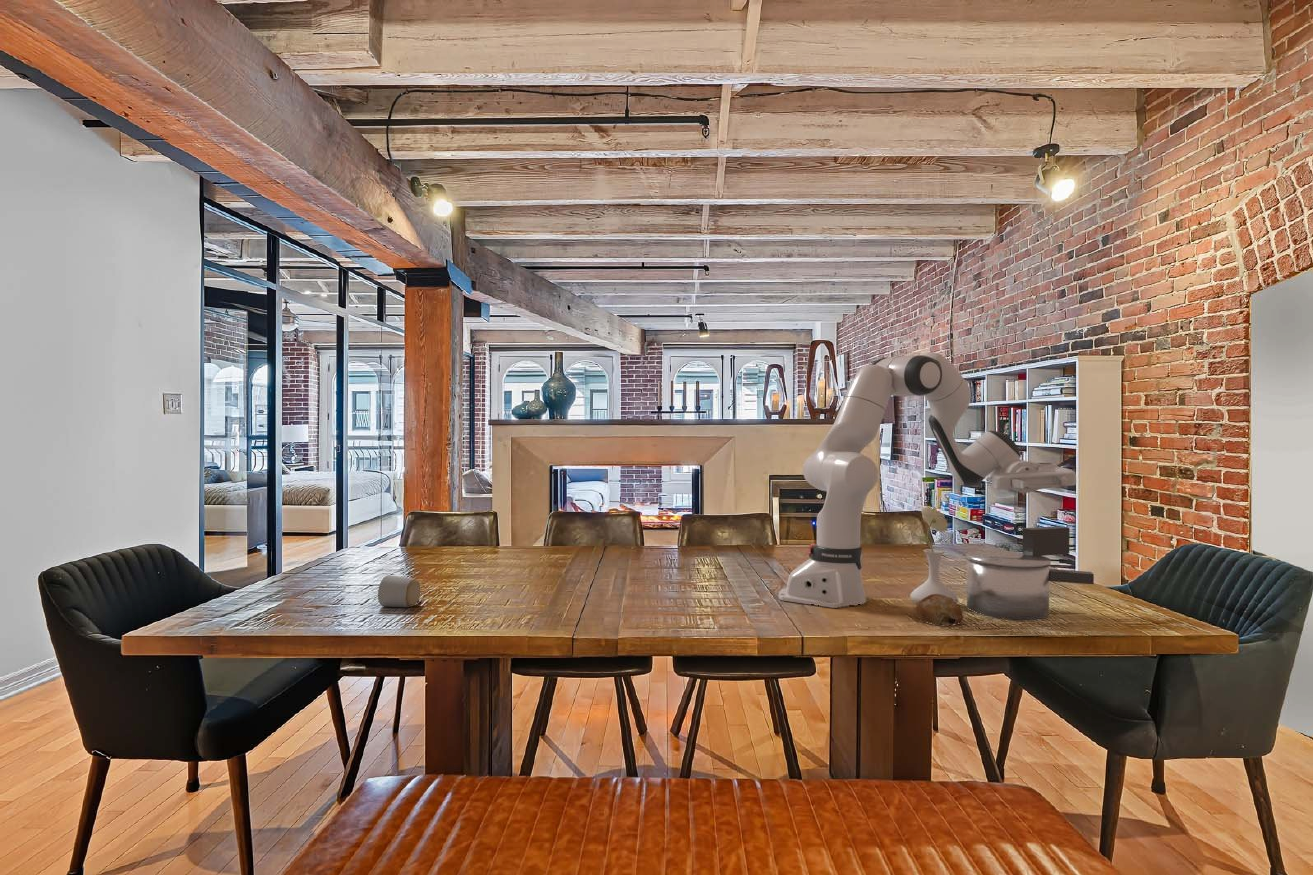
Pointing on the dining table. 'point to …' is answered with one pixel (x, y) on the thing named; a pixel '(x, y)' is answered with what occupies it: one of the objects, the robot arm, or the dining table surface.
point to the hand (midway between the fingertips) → (1045, 484)
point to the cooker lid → (1028, 549)
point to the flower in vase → (933, 559)
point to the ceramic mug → (398, 591)
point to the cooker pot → (1015, 590)
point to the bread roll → (939, 610)
